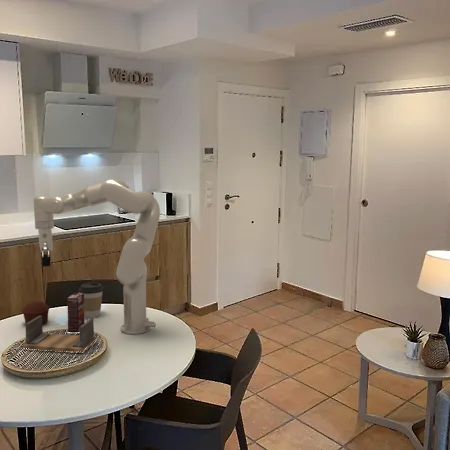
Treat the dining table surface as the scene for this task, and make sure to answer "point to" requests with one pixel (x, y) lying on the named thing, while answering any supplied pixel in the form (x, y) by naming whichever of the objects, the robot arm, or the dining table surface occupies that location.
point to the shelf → (58, 337)
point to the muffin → (36, 311)
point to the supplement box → (75, 311)
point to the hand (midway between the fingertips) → (46, 263)
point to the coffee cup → (92, 299)
